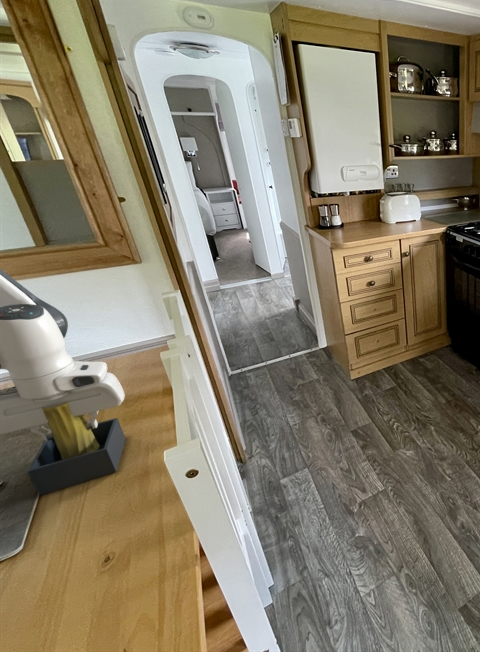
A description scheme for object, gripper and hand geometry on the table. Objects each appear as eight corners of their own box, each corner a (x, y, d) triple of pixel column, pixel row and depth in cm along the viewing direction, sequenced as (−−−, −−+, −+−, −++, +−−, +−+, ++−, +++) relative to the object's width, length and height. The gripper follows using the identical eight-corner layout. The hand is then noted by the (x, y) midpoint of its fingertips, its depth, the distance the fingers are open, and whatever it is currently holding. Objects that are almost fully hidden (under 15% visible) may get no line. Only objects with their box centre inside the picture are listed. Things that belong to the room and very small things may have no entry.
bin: (39, 495, 78) (26, 471, 76) (58, 457, 88) (47, 435, 85) (116, 471, 85) (106, 449, 82) (125, 439, 94) (117, 417, 92)
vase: (56, 466, 81) (29, 412, 76) (70, 447, 86) (46, 395, 81) (93, 458, 84) (69, 405, 78) (104, 440, 89) (82, 389, 84)
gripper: (-36, 404, 70) (-3, 460, 75) (109, 373, 81) (129, 425, 86) (-20, 387, 75) (10, 441, 80) (115, 360, 85) (133, 410, 91)
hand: (72, 432), depth 83 cm, fingers closed on vase, 5 cm apart
